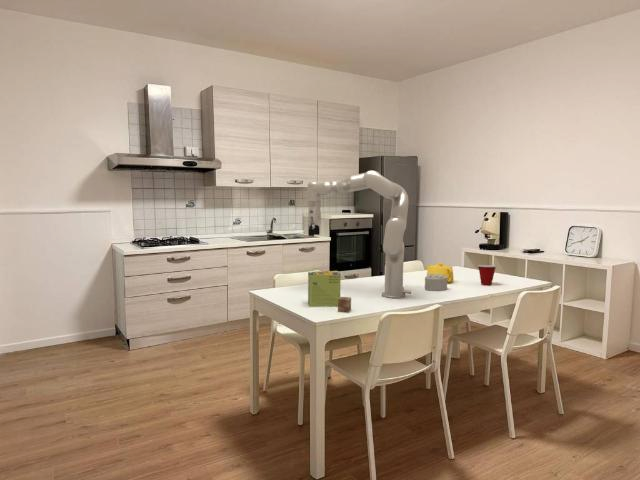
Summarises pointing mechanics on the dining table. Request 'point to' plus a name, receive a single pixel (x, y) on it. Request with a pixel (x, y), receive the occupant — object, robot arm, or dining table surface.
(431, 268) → the teapot
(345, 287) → the dining table surface
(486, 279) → the plastic cup
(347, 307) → the walnut block
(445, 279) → the lumpy-topped squat cylinder
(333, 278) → the protein box
